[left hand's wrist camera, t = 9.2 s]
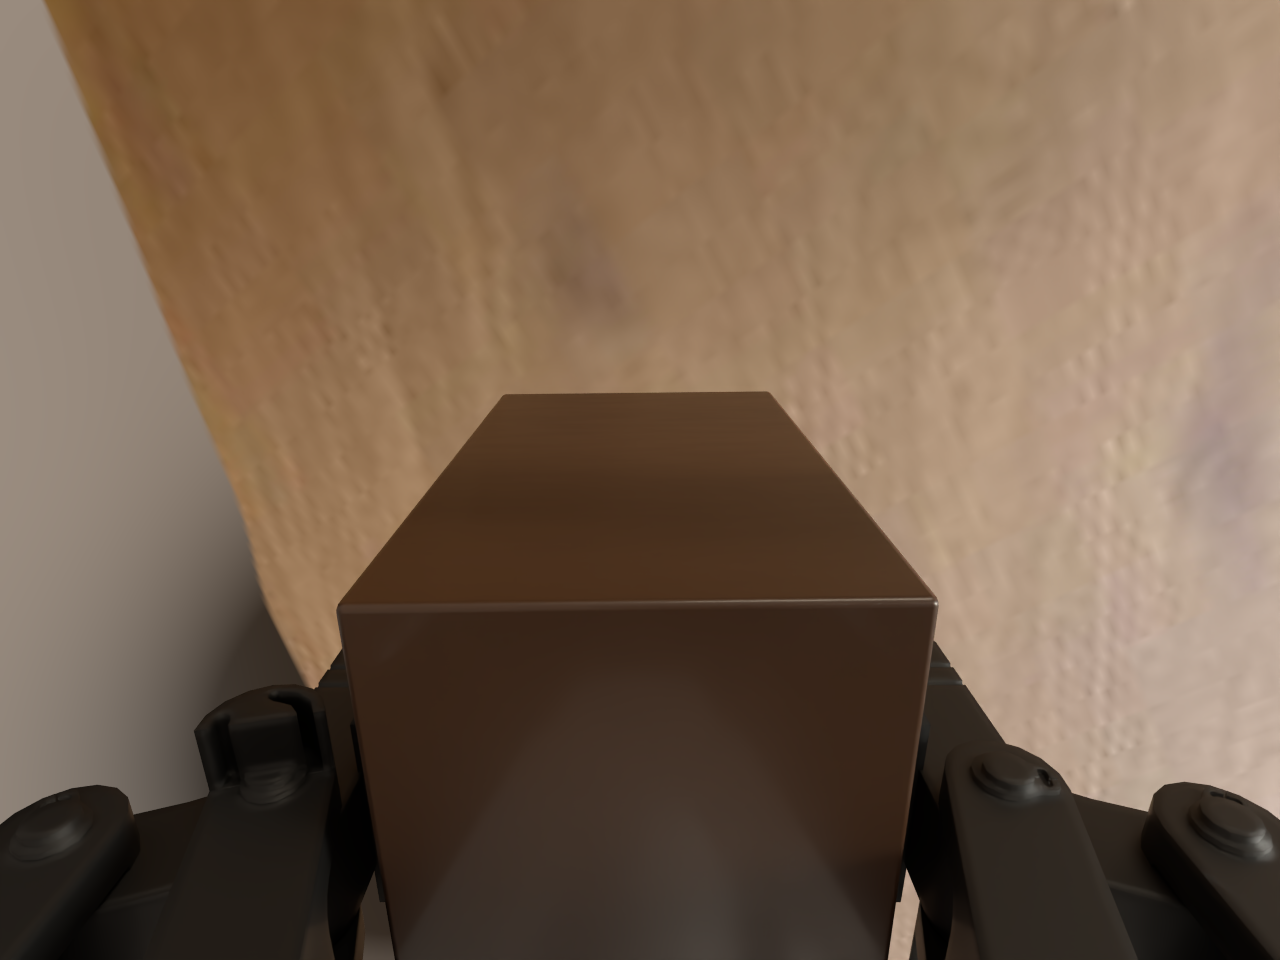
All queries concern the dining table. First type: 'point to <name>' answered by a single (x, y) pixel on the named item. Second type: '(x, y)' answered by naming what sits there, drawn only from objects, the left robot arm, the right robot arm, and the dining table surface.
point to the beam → (639, 691)
